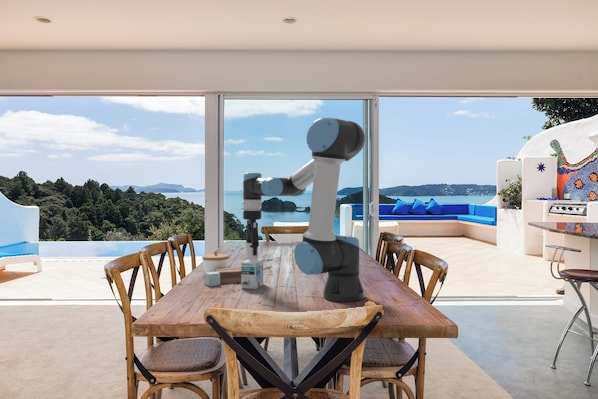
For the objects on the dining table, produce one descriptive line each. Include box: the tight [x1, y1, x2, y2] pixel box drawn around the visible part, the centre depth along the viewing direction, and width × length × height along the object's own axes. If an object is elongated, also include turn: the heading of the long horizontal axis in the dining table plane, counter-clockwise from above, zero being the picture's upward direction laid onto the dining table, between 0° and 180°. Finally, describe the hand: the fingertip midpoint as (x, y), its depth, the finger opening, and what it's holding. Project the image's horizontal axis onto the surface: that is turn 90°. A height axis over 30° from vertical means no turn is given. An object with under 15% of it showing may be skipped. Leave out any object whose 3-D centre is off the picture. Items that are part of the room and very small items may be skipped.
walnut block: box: [215, 266, 241, 284], centre depth 199 cm, size 12×12×5 cm
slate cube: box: [204, 271, 221, 287], centre depth 189 cm, size 5×5×5 cm
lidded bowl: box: [202, 251, 230, 273], centre depth 211 cm, size 13×13×11 cm
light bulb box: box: [240, 258, 264, 290], centre depth 185 cm, size 11×7×11 cm, turn 168°
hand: (251, 260), depth 185 cm, fingers open, 13 cm apart
